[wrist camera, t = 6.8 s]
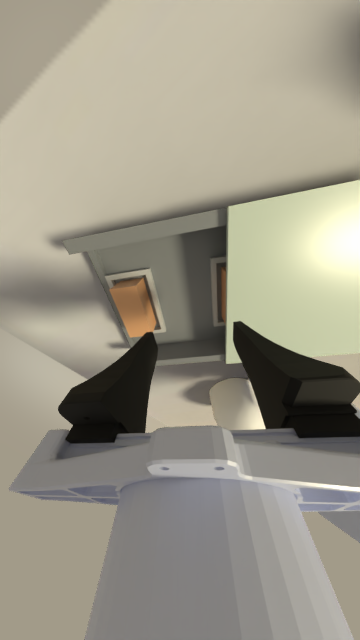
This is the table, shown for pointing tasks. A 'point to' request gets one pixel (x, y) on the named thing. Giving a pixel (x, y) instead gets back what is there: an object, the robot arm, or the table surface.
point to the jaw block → (134, 306)
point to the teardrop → (235, 405)
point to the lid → (296, 270)
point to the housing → (170, 280)
